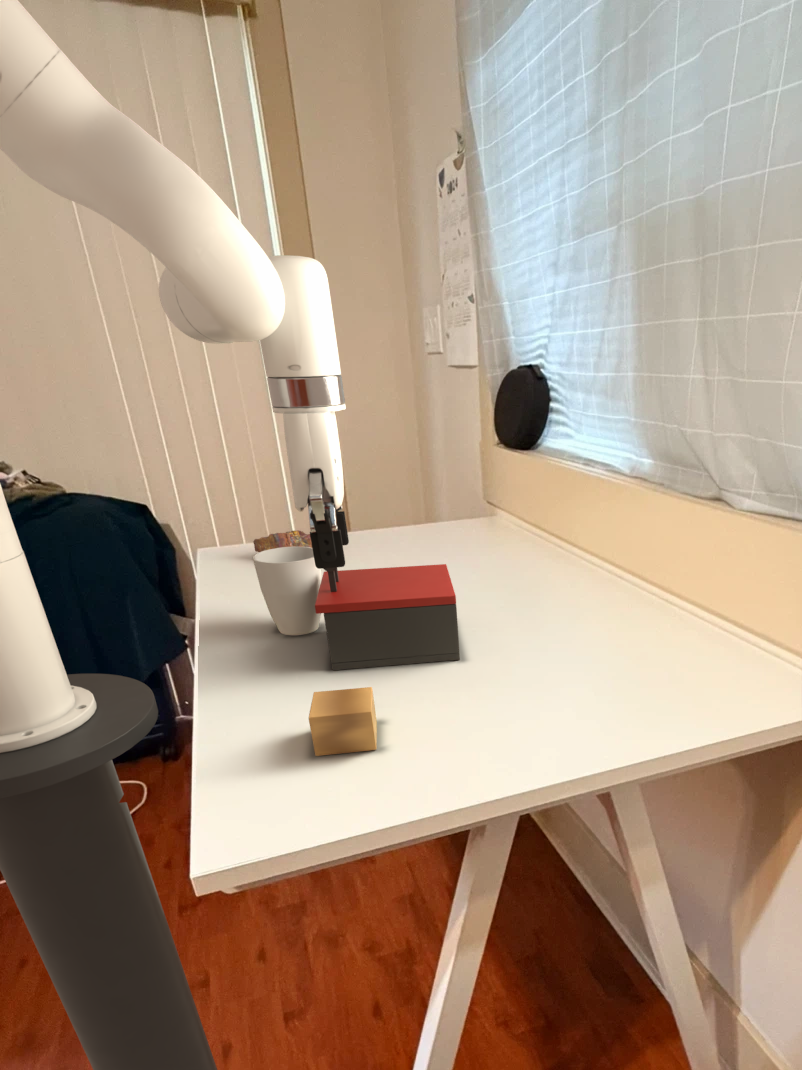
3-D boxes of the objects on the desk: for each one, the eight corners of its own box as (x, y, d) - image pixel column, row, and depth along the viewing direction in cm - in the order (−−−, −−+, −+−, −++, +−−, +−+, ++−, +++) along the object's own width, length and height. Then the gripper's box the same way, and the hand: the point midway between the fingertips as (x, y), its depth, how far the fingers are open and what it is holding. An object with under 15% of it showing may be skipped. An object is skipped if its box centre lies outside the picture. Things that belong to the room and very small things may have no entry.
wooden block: (315, 756, 64) (308, 717, 63) (319, 728, 69) (313, 691, 67) (376, 750, 65) (371, 711, 64) (377, 723, 70) (372, 686, 68)
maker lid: (316, 613, 78) (308, 567, 76) (324, 579, 90) (318, 538, 88) (456, 604, 81) (453, 559, 79) (446, 571, 93) (443, 531, 91)
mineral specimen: (262, 562, 118) (251, 523, 118) (261, 575, 125) (251, 539, 125) (334, 552, 123) (324, 514, 123) (329, 566, 130) (319, 530, 130)
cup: (300, 615, 99) (288, 543, 94) (343, 624, 96) (332, 551, 91) (254, 633, 93) (238, 557, 88) (298, 643, 89) (284, 566, 85)
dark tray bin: (332, 670, 82) (323, 613, 79) (338, 629, 94) (331, 579, 91) (460, 659, 84) (456, 604, 81) (450, 621, 96) (446, 571, 93)
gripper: (280, 392, 82) (307, 540, 90) (258, 403, 67) (292, 579, 75) (347, 389, 83) (367, 536, 91) (339, 400, 68) (364, 574, 76)
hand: (333, 555), depth 83 cm, fingers open, 9 cm apart
